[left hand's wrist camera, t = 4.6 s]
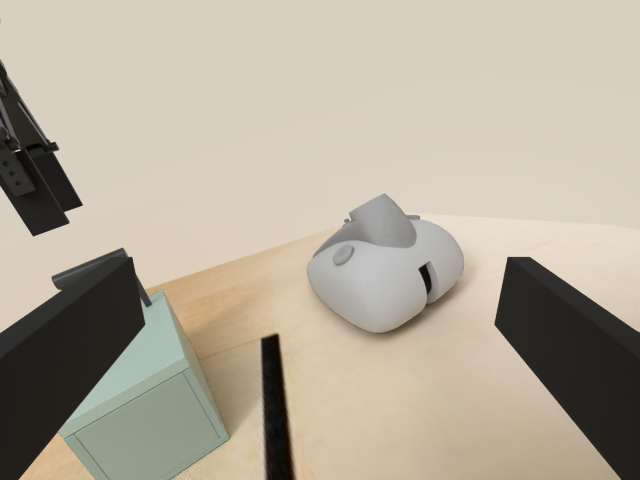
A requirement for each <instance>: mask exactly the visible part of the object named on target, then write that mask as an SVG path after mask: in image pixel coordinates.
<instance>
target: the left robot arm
mask: <svg viewBox="0 0 640 480" xmlns="http://www.w3.org/2000/svg"><path fill="white" fill-rule="evenodd" d="M145 325H146V324H145V319H144V314H143V309H142V304H141V299H140V294H139V289H138V284H137V279H136V273H135V268H134V264H133V258H132V257H110V258H108V259H107V260H105V261H104V262H102V263H101V264H99V265H98V266H97V267H95V268H94V269H92V270H91V271H89V272H88V273H86V274H85V275H84V276H82V277H81V278H79V279H78V280H76V281H75V282H74V283H72V284H71V285H69V286H68V287H66V288H65V289H63V290H62V291H61V292H59V293H58V294H56V295H55V296H53V297H52V298H50V299H49V300H48V301H46V302H45V303H43V304H42V305H40V306H39V307H37V308H36V309H35V310H33V311H32V312H30V313H29V314H27V315H26V316H24V317H23V318H22V319H20V320H19V321H17V322H16V323H14V324H13V325H11V326H10V327H9V328H7V329H6V330H4V331H3V332H1V333H0V480H19V479H20V477H21V476H22V475H23V474H24V472H25V471H26V470H27V469H28V468H29V466H30V465H31V464H32V463H33V461H34V460H35V459H36V458H37V457H38V455H39V454H40V453H41V452H42V450H43V449H44V448H45V447H46V446H47V444H48V443H49V442H50V441H51V439H52V438H53V437H54V436H55V435H56V433H57V432H58V431H59V430H60V429H61V427H62V426H63V425H64V424H65V422H66V421H67V420H68V419H69V418H70V416H71V415H72V414H73V413H74V411H75V410H76V409H77V408H78V407H79V405H80V404H81V403H82V402H83V400H84V399H85V398H86V397H87V396H88V394H89V393H90V392H91V391H92V389H93V388H94V387H95V386H96V385H97V383H98V382H99V381H100V380H101V378H102V377H103V376H104V375H105V374H106V372H107V371H108V370H109V369H110V367H111V366H112V365H113V364H114V363H115V361H116V360H117V359H118V358H119V357H120V355H121V354H122V353H123V352H124V350H125V349H126V348H127V347H128V346H129V344H130V343H131V342H132V341H133V339H134V338H135V337H136V336H137V335H138V333H139V332H140V331H141V330H142V328H143V327H144V326H145ZM494 325H495V326H496V327H497V328H498V330H499V331H500V332H501V333H502V335H503V336H504V337H505V338H506V339H507V341H508V342H509V343H510V344H511V346H512V347H513V348H514V349H515V350H516V352H517V353H518V354H519V355H520V357H521V358H522V359H523V360H524V361H525V363H526V364H527V365H528V366H529V367H530V369H531V370H532V371H533V372H534V374H535V375H536V376H537V377H538V378H539V380H540V381H541V382H542V383H543V385H544V386H545V387H546V388H547V389H548V391H549V392H550V393H551V394H552V396H553V397H554V398H555V399H556V400H557V402H558V403H559V404H560V405H561V407H562V408H563V409H564V410H565V411H566V413H567V414H568V415H569V416H570V418H571V419H572V420H573V421H574V422H575V424H576V425H577V426H578V427H579V429H580V430H581V431H582V432H583V433H584V435H585V436H586V437H587V438H588V440H589V441H590V442H591V443H592V444H593V446H594V447H595V448H596V449H597V450H598V452H599V453H600V454H601V455H602V457H603V458H604V459H605V460H606V461H607V463H608V464H609V465H610V466H611V468H612V469H613V470H614V471H615V472H616V474H617V475H618V476H619V477H620V479H621V480H640V332H638V331H636V330H634V329H633V328H631V327H630V326H629V325H627V324H626V323H624V322H623V321H621V320H620V319H618V318H617V317H616V316H614V315H613V314H611V313H610V312H608V311H607V310H605V309H604V308H603V307H601V306H600V305H598V304H597V303H595V302H594V301H592V300H591V299H590V298H588V297H587V296H585V295H584V294H582V293H581V292H579V291H578V290H577V289H575V288H574V287H572V286H571V285H569V284H568V283H566V282H565V281H564V280H562V279H561V278H559V277H558V276H556V275H555V274H554V273H552V272H551V271H549V270H548V269H546V268H545V267H543V266H542V265H541V264H539V263H538V262H536V261H535V260H533V259H532V258H530V257H508V258H507V263H506V268H505V273H504V279H503V284H502V289H501V294H500V299H499V304H498V309H497V314H496V319H495V324H494Z"/></svg>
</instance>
